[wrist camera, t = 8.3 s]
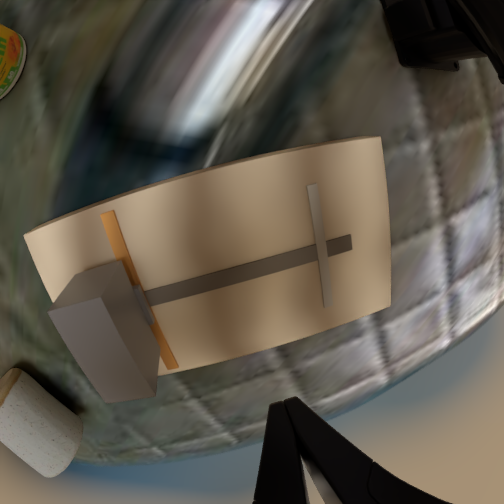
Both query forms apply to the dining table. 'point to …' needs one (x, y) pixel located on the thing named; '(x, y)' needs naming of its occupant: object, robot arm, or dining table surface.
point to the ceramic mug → (37, 424)
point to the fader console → (240, 249)
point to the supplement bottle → (10, 58)
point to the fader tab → (109, 332)
